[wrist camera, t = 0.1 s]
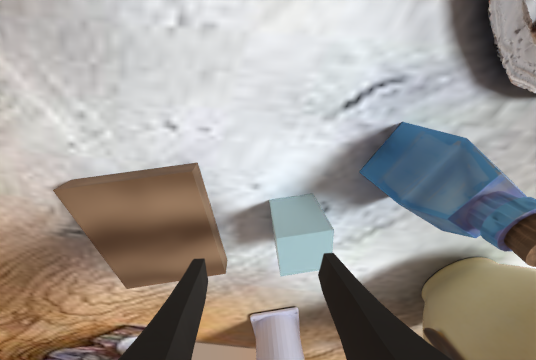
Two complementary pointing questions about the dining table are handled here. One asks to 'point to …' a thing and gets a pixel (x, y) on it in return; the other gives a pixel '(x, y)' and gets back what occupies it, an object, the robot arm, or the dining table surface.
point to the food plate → (515, 41)
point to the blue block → (300, 233)
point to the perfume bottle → (454, 188)
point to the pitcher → (481, 311)
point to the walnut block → (148, 222)
